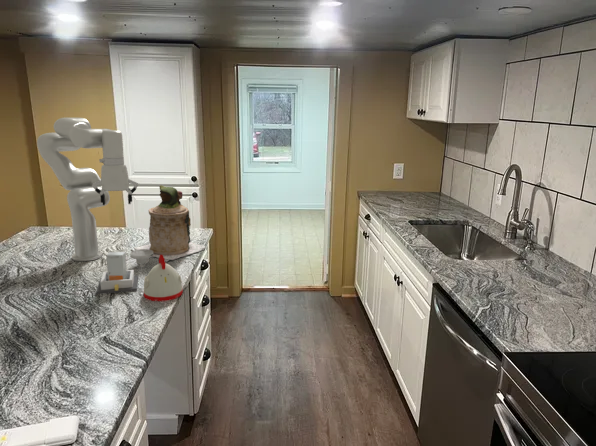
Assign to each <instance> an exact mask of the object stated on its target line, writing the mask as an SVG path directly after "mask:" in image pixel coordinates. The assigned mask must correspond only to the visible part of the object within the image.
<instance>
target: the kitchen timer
mask: <svg viewBox="0 0 596 446" xmlns="http://www.w3.org/2000/svg"><path fill="white" fill-rule="evenodd" d="M143 282H144V283H143V297H144V298H145V299H146V300H148V301H151V302H166V301H172V300H175V299H177V298H180V297H181V296H182V295H183V292H184V290H183V284H182V283H183V280H182V277H181V274H179V272H177V270H176V269H175V268H174V267H173V266H171V265H170V264H168V263H167V262H166V261H165V259H164V258H163V255H160V256H159V258H158V263H157V264H156V265H154V266H153V267H152V268H151V270H150V271H149V272H148V273H147V276H146V275H145V277H144V281H143Z"/></svg>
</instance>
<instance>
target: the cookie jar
mask: <svg viewBox="0 0 596 446" xmlns="http://www.w3.org/2000/svg"><path fill="white" fill-rule="evenodd" d="M158 186H159V196H160V199H161V202H160V203H159V204H158V205H156V206H155V207H151V208H149V209H148V214H149V216H150V220H149V227H148V238H149V239H148V240H149V244H145V245H141V246H135V247H133V248H134V251H135V250H140V249H147V250H152V251H153V256H152V257H153V258H157V259H159V256H160V255H163V258H164V259H165V262H166V263H167V262H169V261H175V260H177V259H180V258H184V257H187V256H190V255H192V254H193V255H194V254H196V253H199V252H203V251H204V250H206V245H204V244H197V243H194V242H192V241H191V237H190V235H191V232H190V229H191V228H190V227H191V224H192V223H191V218H190V217H191V216H190V210H189V209H188V208H187V207H186V206H184V205H183V204H182V203H181V201H180V200H181V199H183V192H182V191H181V190H177V188H175V187H174V186H164V185H162V184H160V185H158Z"/></svg>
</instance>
